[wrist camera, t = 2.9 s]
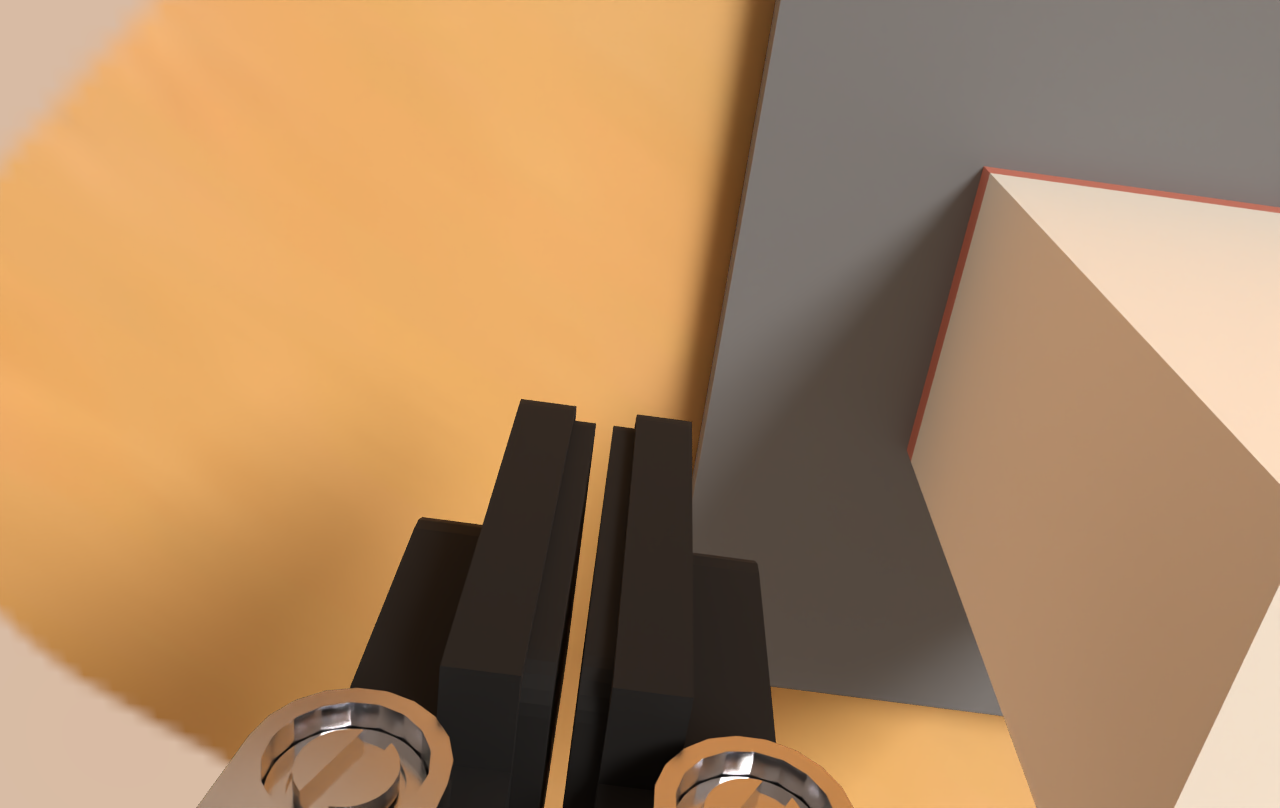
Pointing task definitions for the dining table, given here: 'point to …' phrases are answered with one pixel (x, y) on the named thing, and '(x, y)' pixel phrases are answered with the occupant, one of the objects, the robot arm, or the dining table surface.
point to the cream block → (1116, 485)
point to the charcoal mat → (923, 280)
